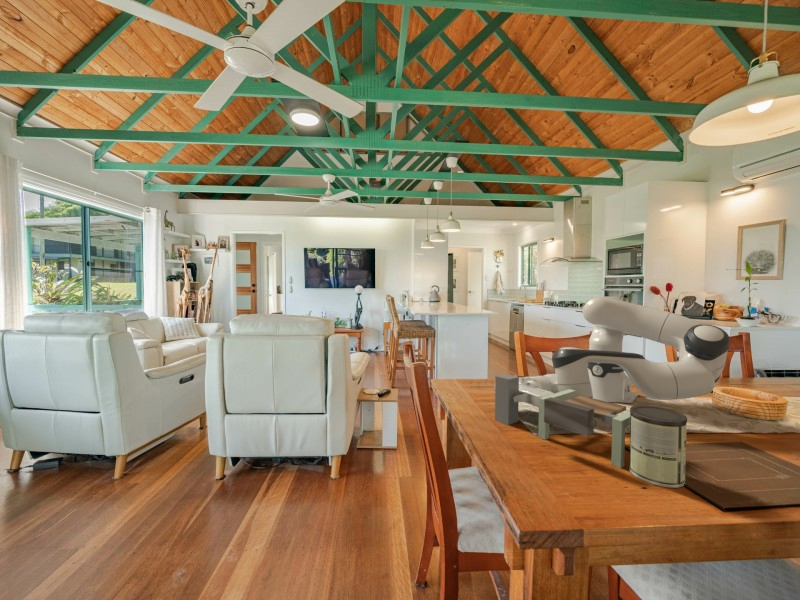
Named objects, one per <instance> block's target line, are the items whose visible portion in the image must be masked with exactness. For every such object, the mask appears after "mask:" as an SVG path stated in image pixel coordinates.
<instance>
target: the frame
mask: <svg viewBox="0 0 800 600" xmlns="http://www.w3.org/2000/svg"><path fill="white" fill-rule="evenodd" d="M550 397H552V398H556V399H560V400H564V401H565V400H568V399H571V398H574V397H576V391H575V390H571V389H568V390H565V391H561V392H558V393H555V394H551V395H548V396H545V397H541V398H539V407H538V434H537V435H538V437H537V438H539V439H541V440H542V439H543V440H545V441H546V440H547V439H550V424H548V423H545V422H544V399H546V398H550ZM604 424H606V425H609V426H611V457H610V458H611V459H610V462H611V466H613V467H616V468H619V469H621V468H623V467H624V466H625V456H626V455H625V453H626V452H625V450H626V428H627V427H630V410H628V411H624V412H622V413H620V414H617V415H613V414H609V413H608V414H606V415H605V420H604Z"/></svg>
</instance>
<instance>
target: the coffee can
mask: <svg viewBox="0 0 800 600" xmlns="http://www.w3.org/2000/svg"><path fill="white" fill-rule="evenodd" d="M629 411H630V425H629V468H628V470H629V472H630V473H631V474H632V475H633V476H634V477H635V478H637V479H639V480H641V481H643V482H645V483H648V484H650V485H653V486H658V487H662V488H671V489H672V488H673V489H676V488H682V487H684V486H685V485H684V483H685V481H686V462H687V460H686V458H687V457H686V456H687V423H688V416H686V415H685V414H683V413H681V412H679V411H676V410H673V409H670V408H665V407H660V406H653V405H634V406H630V407H629ZM685 484H686V483H685Z"/></svg>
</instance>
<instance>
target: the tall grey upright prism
mask: <svg viewBox="0 0 800 600" xmlns="http://www.w3.org/2000/svg"><path fill="white" fill-rule="evenodd" d="M516 376H517V375H511V374H507V373H504V374H499V375H496V376H495V377H494V378H495V381H494V385H495V390H494V393H495V394H494V396H495V397H494V404H495V405H494V421H496V422H499V423H501V424H504V425H507V426H510V425H512V424H513V425H514V424H515V423H519V402H513V401H511V399H512V398H511V396H512V395H519V377H516Z"/></svg>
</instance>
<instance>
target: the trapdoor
mask: <svg viewBox="0 0 800 600" xmlns="http://www.w3.org/2000/svg"><path fill="white" fill-rule="evenodd" d="M624 412H627V406H626V405H622V404H617V403H615V402H606V401H602V400H598V399H593V398H589V397H585V396H581V395H580V396H577V397H574V398H571V399H568V400H565V401H564V400H560V399H556V398H552V397H550V398H546V399H544V422H545V423H548V424H549V425H550V426H551V425H552V426H555V427H558V428H560V429H564V430H565V431H566V430H567V431H569V432H572V433H575V434H578V435H582V436H584V437H589V436H591V435H593V434H594V433H595V431H594V430H595V429H594V428H595V419H599V420H602V421H605V415H606V414H608V413H609V414H613V415H617V416H618V415H620V414H622V413H624Z"/></svg>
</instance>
